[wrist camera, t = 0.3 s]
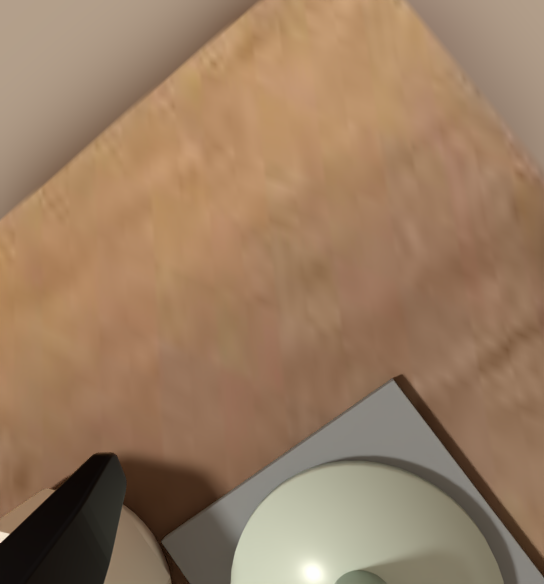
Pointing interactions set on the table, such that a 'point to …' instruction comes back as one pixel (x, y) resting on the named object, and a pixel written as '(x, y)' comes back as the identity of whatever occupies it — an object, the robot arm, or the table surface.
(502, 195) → the table surface
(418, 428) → the mat
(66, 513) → the robot arm
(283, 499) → the lid
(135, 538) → the bowl
